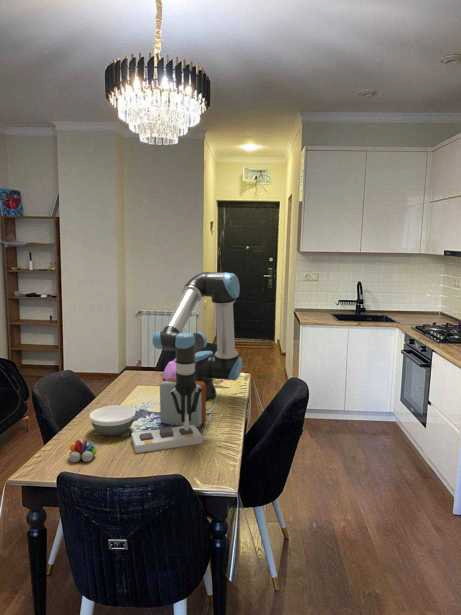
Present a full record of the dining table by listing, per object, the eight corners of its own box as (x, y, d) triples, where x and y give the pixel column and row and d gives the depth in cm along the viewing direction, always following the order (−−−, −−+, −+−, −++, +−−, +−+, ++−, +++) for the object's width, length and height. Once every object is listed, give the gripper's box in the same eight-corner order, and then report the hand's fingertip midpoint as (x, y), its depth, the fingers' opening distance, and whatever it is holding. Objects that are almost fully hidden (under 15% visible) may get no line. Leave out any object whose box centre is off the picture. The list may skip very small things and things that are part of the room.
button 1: (151, 440, 186) (150, 432, 186) (153, 444, 182) (152, 436, 182) (140, 441, 185) (139, 434, 184) (141, 446, 181) (141, 438, 180)
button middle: (170, 434, 189) (170, 427, 188) (173, 438, 184) (173, 431, 184) (160, 436, 187) (159, 428, 187) (162, 440, 183) (162, 432, 183)
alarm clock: (206, 421, 207) (206, 376, 204) (198, 429, 198) (198, 382, 195) (168, 416, 213) (168, 372, 210) (159, 423, 204) (158, 378, 201)
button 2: (190, 434, 191) (190, 427, 191) (192, 439, 187) (192, 431, 187) (179, 436, 190) (179, 428, 189) (182, 440, 186) (182, 432, 185)
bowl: (95, 444, 183) (94, 424, 182) (86, 427, 200) (85, 409, 198) (141, 435, 192) (141, 416, 190) (129, 420, 208) (128, 402, 207)
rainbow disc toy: (72, 453, 176) (71, 435, 175) (98, 452, 177) (98, 434, 176) (66, 464, 168) (65, 445, 166) (94, 463, 168) (93, 444, 167)
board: (194, 431, 196) (194, 424, 196) (202, 443, 185) (202, 435, 184) (131, 440, 187) (131, 432, 187) (135, 453, 176) (135, 445, 176)
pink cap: (188, 385, 257) (188, 364, 255) (160, 385, 258) (159, 363, 256) (192, 374, 279) (192, 354, 277) (166, 373, 279) (166, 354, 278)
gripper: (198, 368, 190) (199, 423, 194) (167, 371, 186) (168, 427, 190) (204, 373, 183) (204, 430, 187) (171, 376, 179) (172, 435, 183)
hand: (186, 429), depth 188 cm, fingers closed
